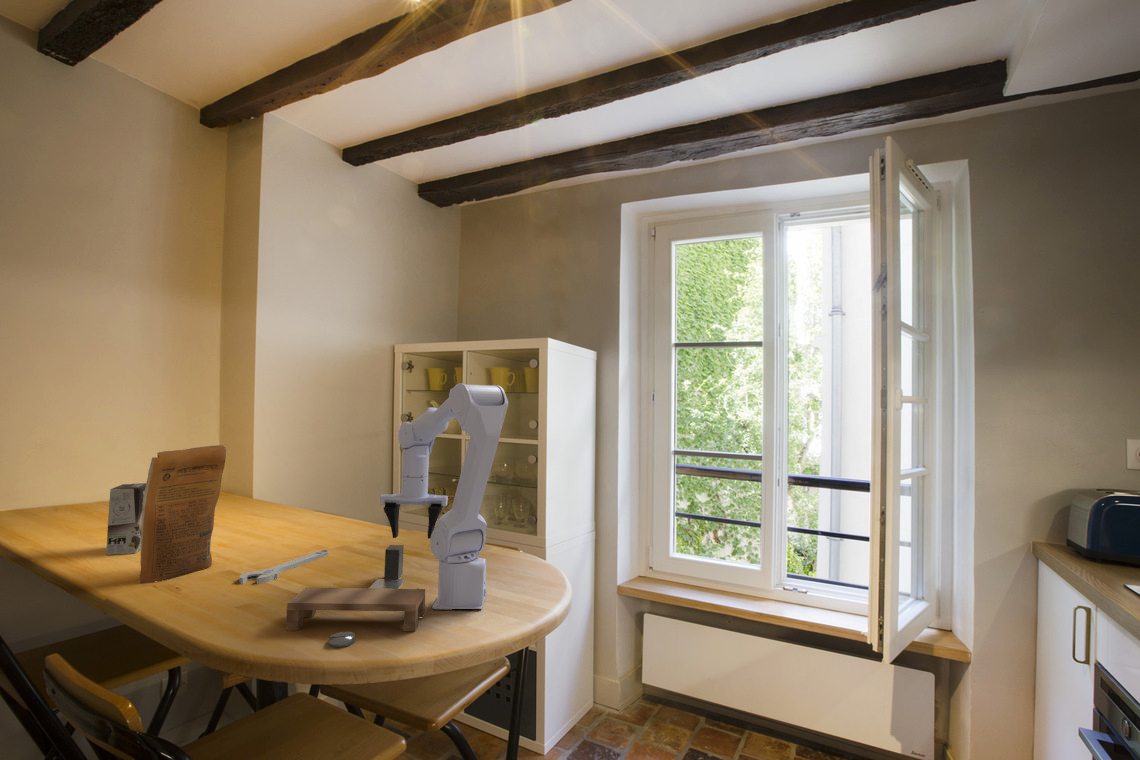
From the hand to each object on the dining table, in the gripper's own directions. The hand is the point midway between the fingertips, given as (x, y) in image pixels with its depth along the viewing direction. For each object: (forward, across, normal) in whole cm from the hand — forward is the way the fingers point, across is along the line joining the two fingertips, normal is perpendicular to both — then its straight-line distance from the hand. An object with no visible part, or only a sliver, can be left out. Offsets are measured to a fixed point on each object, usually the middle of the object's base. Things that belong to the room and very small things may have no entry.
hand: (412, 537), depth 127 cm
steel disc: (+10, +4, +33) cm, 34 cm away
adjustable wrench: (+10, +29, -7) cm, 32 cm away
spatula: (+9, +4, +7) cm, 12 cm away
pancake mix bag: (+10, +51, -2) cm, 52 cm away
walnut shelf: (+9, +4, +24) cm, 26 cm away
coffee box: (+10, +75, -20) cm, 78 cm away
